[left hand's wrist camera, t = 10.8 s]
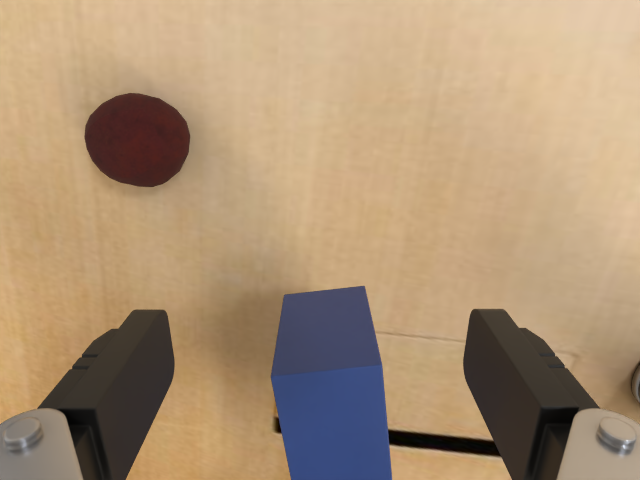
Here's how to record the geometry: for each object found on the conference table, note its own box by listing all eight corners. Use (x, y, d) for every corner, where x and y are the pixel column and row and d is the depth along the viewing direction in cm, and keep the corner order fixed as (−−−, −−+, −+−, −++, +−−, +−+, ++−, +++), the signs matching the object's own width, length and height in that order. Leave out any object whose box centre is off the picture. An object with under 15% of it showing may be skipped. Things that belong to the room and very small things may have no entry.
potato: (95, 111, 37) (47, 120, 30) (175, 76, 36) (142, 77, 29) (139, 189, 40) (103, 212, 33) (214, 158, 38) (193, 176, 32)
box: (283, 294, 32) (270, 376, 23) (364, 285, 32) (382, 365, 23) (317, 493, 39) (317, 614, 30) (384, 487, 39) (403, 607, 30)
